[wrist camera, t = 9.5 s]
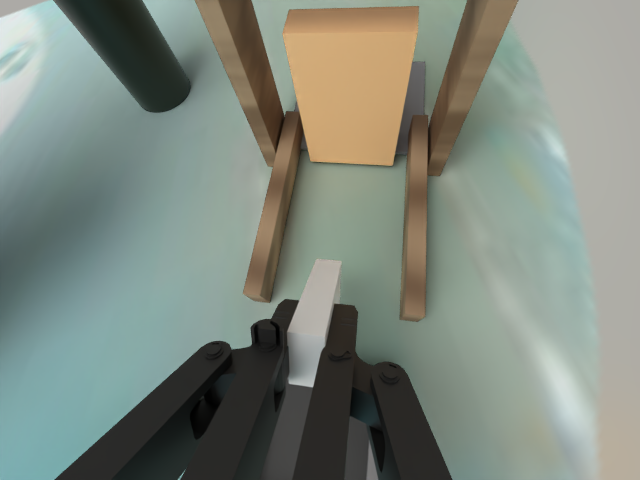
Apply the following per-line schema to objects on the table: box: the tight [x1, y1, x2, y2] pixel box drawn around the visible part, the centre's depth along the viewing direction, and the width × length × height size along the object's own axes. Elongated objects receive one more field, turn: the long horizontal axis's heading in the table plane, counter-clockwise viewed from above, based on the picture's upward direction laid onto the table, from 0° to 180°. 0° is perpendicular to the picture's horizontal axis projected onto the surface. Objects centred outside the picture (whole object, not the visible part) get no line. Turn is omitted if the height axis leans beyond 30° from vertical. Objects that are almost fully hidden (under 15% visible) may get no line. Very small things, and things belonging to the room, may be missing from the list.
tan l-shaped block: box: [282, 6, 419, 166], centre depth 23 cm, size 12×7×11 cm, turn 172°
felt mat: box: [294, 62, 425, 155], centre depth 29 cm, size 11×12×1 cm
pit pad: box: [259, 376, 378, 480], centre depth 18 cm, size 8×8×1 cm
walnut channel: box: [195, 0, 518, 322], centre depth 17 cm, size 16×15×16 cm
